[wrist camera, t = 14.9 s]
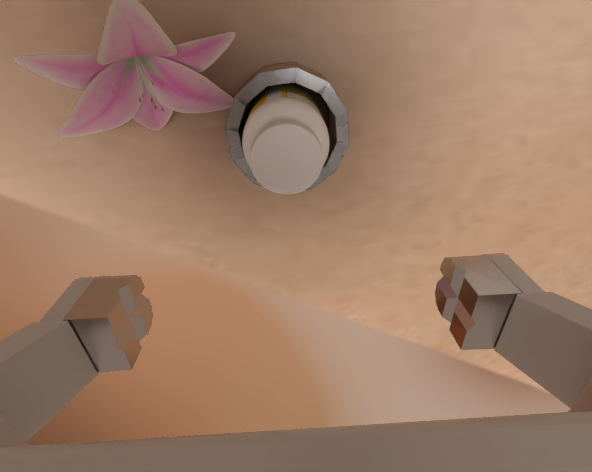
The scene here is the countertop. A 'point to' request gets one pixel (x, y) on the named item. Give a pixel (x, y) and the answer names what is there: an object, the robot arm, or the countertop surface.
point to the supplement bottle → (285, 139)
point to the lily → (135, 74)
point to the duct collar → (282, 76)
